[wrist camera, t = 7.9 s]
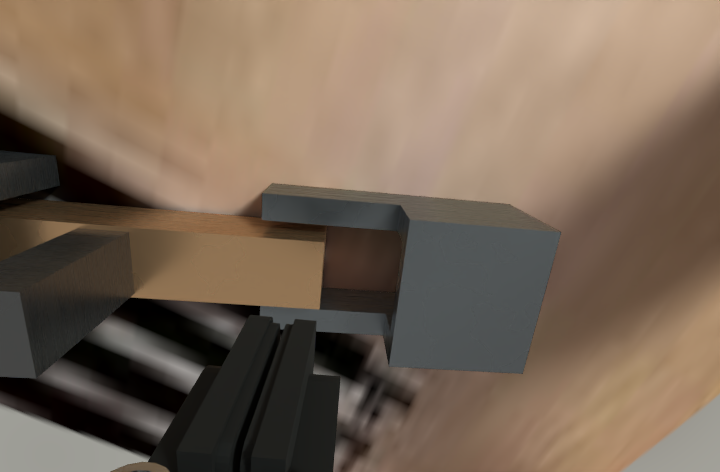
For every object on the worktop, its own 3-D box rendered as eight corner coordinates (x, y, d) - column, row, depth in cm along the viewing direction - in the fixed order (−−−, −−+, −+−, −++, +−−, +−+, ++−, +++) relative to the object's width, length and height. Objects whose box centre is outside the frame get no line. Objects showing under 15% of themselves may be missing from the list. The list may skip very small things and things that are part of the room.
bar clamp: (511, 196, 19) (570, 225, 14) (482, 324, 21) (524, 387, 16) (-68, 144, 17) (-234, 157, 12) (-32, 291, 19) (-160, 352, 14)
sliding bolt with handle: (327, 223, 19) (315, 305, 11) (322, 281, 20) (309, 397, 12) (-14, 195, 18) (-317, 263, 10) (-1, 258, 19) (-266, 369, 10)
